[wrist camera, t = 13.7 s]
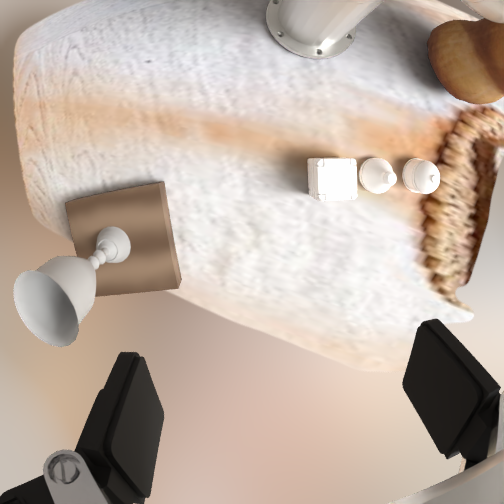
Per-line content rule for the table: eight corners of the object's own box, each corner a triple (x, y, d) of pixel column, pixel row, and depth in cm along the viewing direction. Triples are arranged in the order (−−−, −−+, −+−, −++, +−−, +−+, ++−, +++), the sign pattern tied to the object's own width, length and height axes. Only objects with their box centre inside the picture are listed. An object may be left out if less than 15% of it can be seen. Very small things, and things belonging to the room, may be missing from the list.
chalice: (81, 233, 36) (2, 289, 19) (118, 208, 36) (43, 255, 19) (109, 278, 39) (48, 355, 22) (147, 257, 38) (94, 333, 21)
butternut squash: (417, 98, 36) (550, 82, 12) (407, 22, 32) (515, -31, 8) (477, 113, 37) (592, 117, 13) (468, 44, 32) (572, 21, 9)
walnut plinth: (74, 199, 38) (64, 203, 35) (164, 181, 38) (158, 183, 35) (96, 288, 42) (89, 297, 40) (181, 279, 43) (178, 288, 40)
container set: (308, 195, 40) (319, 202, 35) (306, 157, 39) (317, 158, 33) (427, 191, 41) (448, 197, 36) (428, 158, 39) (449, 161, 34)
